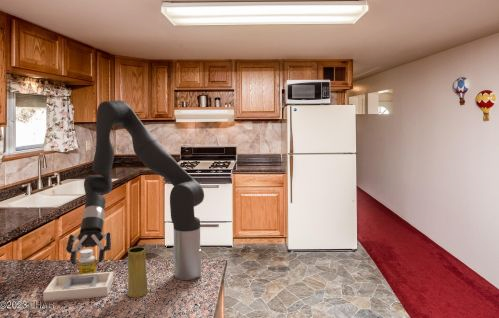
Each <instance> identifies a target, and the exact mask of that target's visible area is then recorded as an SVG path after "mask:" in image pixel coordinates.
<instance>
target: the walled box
mask: <svg viewBox="0 0 499 318" xmlns="http://www.w3.org/2000/svg"><path fill="white" fill-rule="evenodd" d="M113 282H114V272H113V271H108V272H107V271H106V272H96V273H91V274H79V273H78V274H69V275H57V276H56V275H55V276H54V277H53V279H51V281H50V283H49V284H48V285H47V286H46V288H45V289H44V290H43V293H42V296H43V303H46V302H56V301H58V302H59V301H68V300H69V301H70V300H79V299H87V298H88V299H90V298H97V297H98V298H99V297H108V296H109V292H110V291H111V288H112V285H113Z"/></svg>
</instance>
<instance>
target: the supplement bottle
mask: <svg viewBox="0 0 499 318" xmlns="http://www.w3.org/2000/svg"><path fill="white" fill-rule="evenodd" d="M79 256H80V257H79V258H78V259H77V261H78V262H77V263H78V275H79V274H91V273H97V264H96V262H97V261H96V256H95V255H94V250H93V248H85V249H81V250H79Z"/></svg>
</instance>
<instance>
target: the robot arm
mask: <svg viewBox="0 0 499 318" xmlns="http://www.w3.org/2000/svg"><path fill="white" fill-rule="evenodd" d="M95 126H96V127H95V128H96V130H95V131H96V132H95V134H96V135H95V136H96V137H95V151H94V152H95V153H94V157H93V161H92V165H91V167H92V168H91V169H92V171H93V172H94V173H95V174H97V175H94V174H93V175H92V174H90V175H87V176H86V177H85V179H84V181H83V188H84V194H85V204H84V205H85V206H84V209H83V214H82V217H81V224H80V229H79V234H78V235H73V234H69V236H68V240H67V244H66V248H65V249H66V250H65V251H67V254H70V259H69V260H70V263H71V264H72V265H76V263H77V255H78V252H80V251H82V250H83V248H95V247H96V246H97V248H98V249H99V252H98V262H99V263H102V262H103V261H104V259H105V253H106V252H107V251H111V249H112V234H111V233H110V232H109V231H108V232H107V233H103V232H104V223H105V211H106V210H105V209H106V197H104V196H103V195H107V194H109V193H110V192H111V191H112V189H113V180H112V169H113V163H114V159H115V150H114V148H113V145H112V142H111V138H110V134H111V132H112V131H111V130H112V128H113V127H114V126H116V127H117V126H121V127H122V128H124V129H125V130H126V131H127V132H128V134H129V135H130V136H131V141H132V147H133V151H134V154H135V156H136V157H137V158H138V159H139V160H140V162H142V163H143V165H144V166H145V167H146V168H147V169H148V170H150V171H152V172H153V173H154V174H157V175H159V176H160V177H162V178H164V179H165V180H167V181H168V182H169V183H170V184H172V186H173V187H172V188H171V191H170V194H169V206H170V207H169V208H170V219H171V222H172V225H173V273H174V274H173V275H174V277H175V279H177V280H180V281H190V280H194V279H196V278H201V277H202V249H201V220H200V218H199V217H197V216H195V207H197V206H199V205H200V204H202V202H204V199H205V191H204V189H203V186H202V185H201V184H200V183H199V182H198V181H197V180H196V179H194V177H193V176H191V175H190V174H189V173H188V172H187V171H186V170H185V169H184V168H182V166H181V165H180V164H179V163H178V162H177V161H176V159H175V158H174V157H172V155H171V154H170V153H169V152H168V151H167V149H166V148H165V147H164V146H163V145H162V144H161V142H159V140H158V139H157V138H156V137H155V136H154V135H153V134H152V133H151V131H150V130H149V129H148V128H147V127H146V126H145V125H144V124H143V122H142V121H141V119H140V118H139V117H138V115H137V114H136V113H135V111H134V109H133V108H132V107H131V106H130V105H129V104H128V102H126V101H123V100H119V99H118V100H105V101H102V102H100V103H99V105H98V106H97V111H96V124H95ZM103 239H104V240H105V242H106V244H105V246H104V245H103V244H102V242H101V241H102V240H103ZM77 240H78V241H77ZM76 241H77V243H75V242H76ZM74 244H75V245H74Z"/></svg>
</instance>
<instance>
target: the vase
mask: <svg viewBox="0 0 499 318" xmlns="http://www.w3.org/2000/svg"><path fill="white" fill-rule="evenodd" d="M127 255H128V256H127V268H128V269H127V271H128V272H127V274H128V280H127V281H128V282H127V288H128V289H127V296H128V297H129V298H141V297H143V296H146V295H147V294H148V292H149V290H148V278H147V277H148V276H147V275H148V274H147V264H146V263H147V262H146V261H147V260H146V248H145V246H144V247H143V246H134V247H130V248H129V249H128V250H127Z"/></svg>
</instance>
